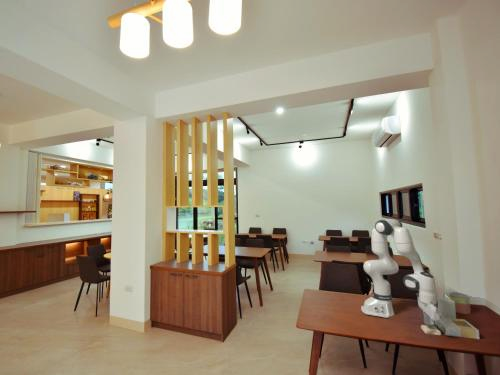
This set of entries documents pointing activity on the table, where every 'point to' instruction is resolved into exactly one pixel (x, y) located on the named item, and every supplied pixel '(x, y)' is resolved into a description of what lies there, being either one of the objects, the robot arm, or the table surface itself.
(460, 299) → the canned food
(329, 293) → the table surface
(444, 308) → the supplement box
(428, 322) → the nut block
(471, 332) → the grey yellow rectangular frame
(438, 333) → the tab
